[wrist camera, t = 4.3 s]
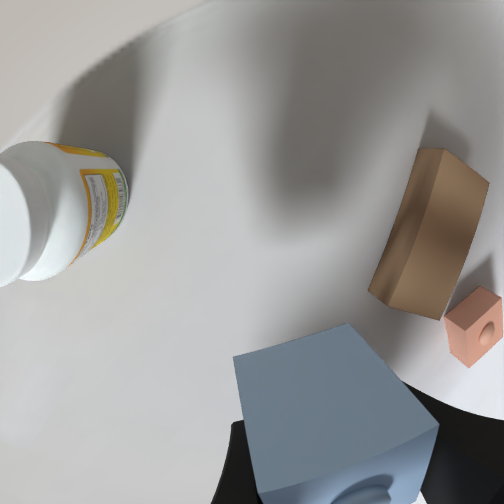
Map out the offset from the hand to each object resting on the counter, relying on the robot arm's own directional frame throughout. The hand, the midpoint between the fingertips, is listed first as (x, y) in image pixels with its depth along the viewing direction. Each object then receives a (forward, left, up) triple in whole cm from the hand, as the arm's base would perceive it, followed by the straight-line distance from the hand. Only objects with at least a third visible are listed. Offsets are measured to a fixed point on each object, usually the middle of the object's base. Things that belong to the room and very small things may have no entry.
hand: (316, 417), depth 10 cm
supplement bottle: (+9, +9, -10) cm, 16 cm away
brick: (-7, -16, -10) cm, 20 cm away
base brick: (+2, -11, -10) cm, 15 cm away
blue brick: (0, 0, -2) cm, 2 cm away
